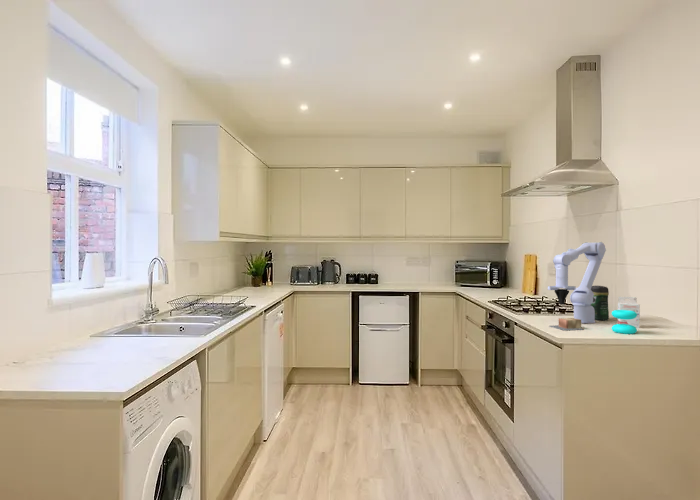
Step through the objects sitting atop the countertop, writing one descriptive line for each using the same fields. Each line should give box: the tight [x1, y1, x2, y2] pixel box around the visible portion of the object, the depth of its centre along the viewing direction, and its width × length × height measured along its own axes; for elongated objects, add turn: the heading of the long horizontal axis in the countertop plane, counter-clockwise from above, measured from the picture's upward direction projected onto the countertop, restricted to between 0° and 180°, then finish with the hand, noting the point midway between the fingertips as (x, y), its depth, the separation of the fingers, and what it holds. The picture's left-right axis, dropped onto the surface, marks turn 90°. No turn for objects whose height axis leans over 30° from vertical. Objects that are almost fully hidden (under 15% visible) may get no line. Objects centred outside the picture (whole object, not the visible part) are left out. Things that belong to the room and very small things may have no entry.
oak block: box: [558, 317, 582, 329], centre depth 215 cm, size 4×6×8 cm
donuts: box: [611, 309, 638, 335], centre depth 203 cm, size 10×10×10 cm
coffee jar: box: [591, 285, 610, 321], centre depth 241 cm, size 10×8×19 cm
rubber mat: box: [549, 324, 584, 331], centre depth 215 cm, size 10×12×1 cm
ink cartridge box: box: [617, 296, 641, 329], centre depth 217 cm, size 9×5×15 cm, turn 71°
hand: (561, 304), depth 225 cm, fingers closed
